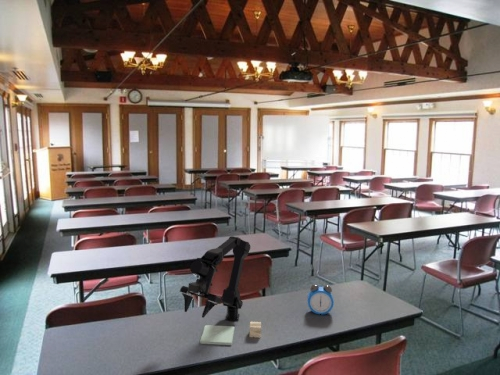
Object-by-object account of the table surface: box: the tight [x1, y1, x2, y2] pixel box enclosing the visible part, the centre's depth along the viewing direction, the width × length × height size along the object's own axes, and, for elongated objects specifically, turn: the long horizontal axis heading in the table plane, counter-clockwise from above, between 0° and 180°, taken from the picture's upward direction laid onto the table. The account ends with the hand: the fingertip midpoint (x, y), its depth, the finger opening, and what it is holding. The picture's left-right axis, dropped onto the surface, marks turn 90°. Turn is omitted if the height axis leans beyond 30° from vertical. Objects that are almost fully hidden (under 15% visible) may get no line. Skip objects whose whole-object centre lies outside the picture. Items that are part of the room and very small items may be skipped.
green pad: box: [199, 324, 236, 346], centre depth 175 cm, size 14×14×1 cm
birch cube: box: [249, 321, 262, 339], centre depth 177 cm, size 5×5×5 cm
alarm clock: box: [307, 283, 335, 315], centre depth 199 cm, size 13×6×15 cm, turn 83°
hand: (193, 314), depth 164 cm, fingers open, 9 cm apart
